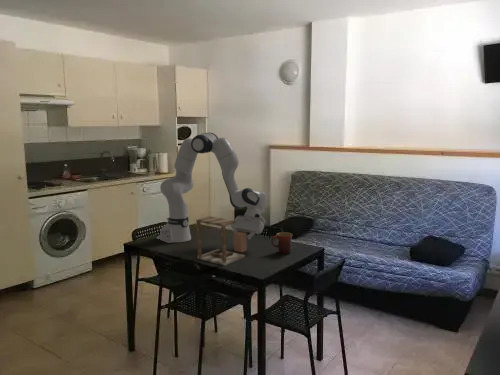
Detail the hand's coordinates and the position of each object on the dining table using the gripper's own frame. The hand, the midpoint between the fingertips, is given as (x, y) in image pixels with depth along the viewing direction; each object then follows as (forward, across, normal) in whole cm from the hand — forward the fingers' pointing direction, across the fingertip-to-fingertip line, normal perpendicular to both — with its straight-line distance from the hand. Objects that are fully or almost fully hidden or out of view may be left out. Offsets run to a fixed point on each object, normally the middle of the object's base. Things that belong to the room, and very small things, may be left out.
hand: (241, 237), depth 239 cm
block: (+6, 0, +4) cm, 7 cm away
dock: (+17, 0, -7) cm, 19 cm away
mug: (-1, +21, +12) cm, 24 cm away
